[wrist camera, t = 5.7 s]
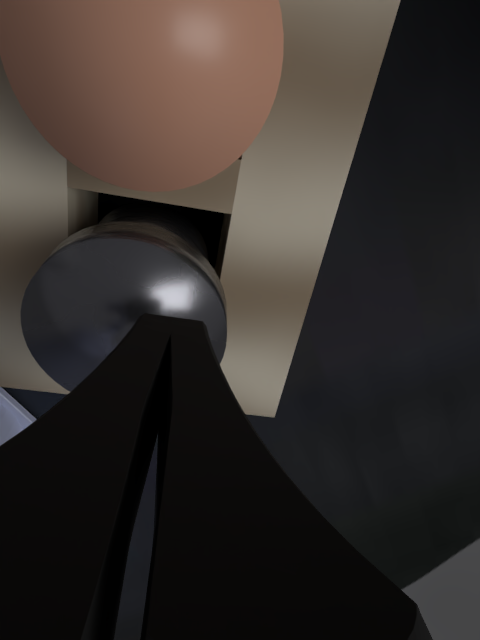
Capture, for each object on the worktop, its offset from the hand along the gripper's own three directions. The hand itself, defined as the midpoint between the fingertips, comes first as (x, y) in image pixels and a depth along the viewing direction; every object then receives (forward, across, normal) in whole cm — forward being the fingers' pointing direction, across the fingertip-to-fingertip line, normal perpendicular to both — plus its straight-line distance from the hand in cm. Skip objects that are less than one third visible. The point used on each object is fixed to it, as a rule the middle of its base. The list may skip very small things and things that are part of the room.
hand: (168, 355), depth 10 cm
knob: (+6, +1, +1) cm, 6 cm away
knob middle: (+6, +1, -6) cm, 8 cm away
